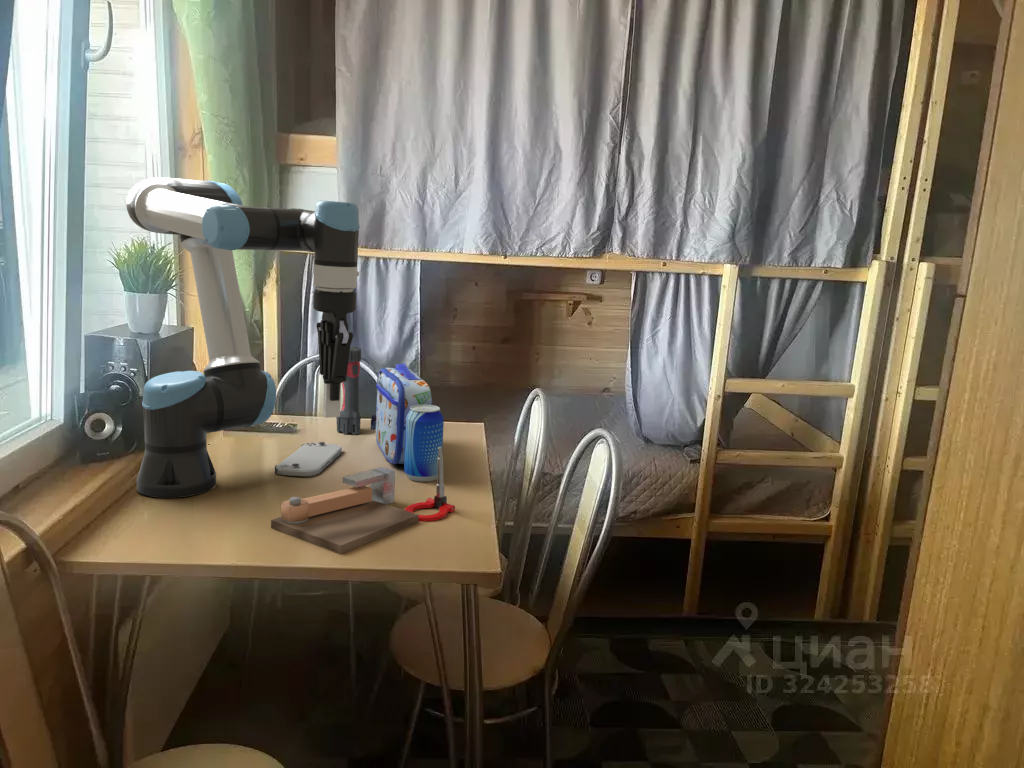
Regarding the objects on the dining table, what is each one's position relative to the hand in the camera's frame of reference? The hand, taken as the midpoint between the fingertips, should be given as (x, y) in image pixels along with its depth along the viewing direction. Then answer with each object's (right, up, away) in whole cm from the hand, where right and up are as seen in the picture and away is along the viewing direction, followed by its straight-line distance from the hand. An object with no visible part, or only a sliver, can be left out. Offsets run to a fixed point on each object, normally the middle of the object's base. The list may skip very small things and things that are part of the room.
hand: (331, 416), depth 146 cm
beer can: (+13, -15, +31) cm, 37 cm away
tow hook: (+17, -20, +9) cm, 28 cm away
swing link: (-1, -18, +3) cm, 18 cm away
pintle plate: (+3, -20, +1) cm, 20 cm away
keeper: (+5, -18, +12) cm, 22 cm away
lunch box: (+6, -12, +47) cm, 49 cm away
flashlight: (-11, -7, +67) cm, 68 cm away
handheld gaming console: (-14, -13, +38) cm, 42 cm away
